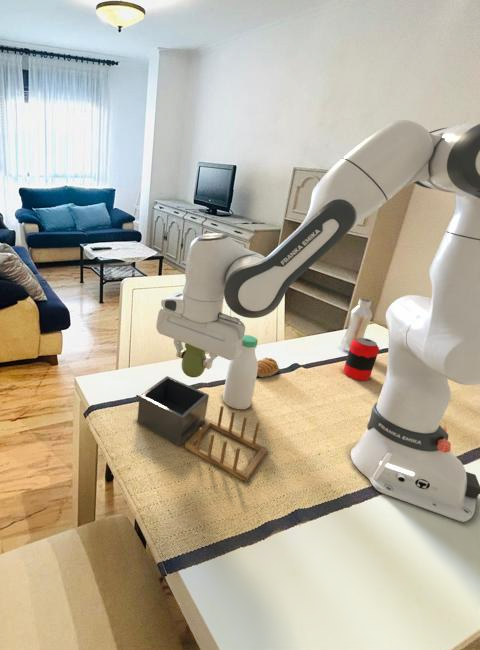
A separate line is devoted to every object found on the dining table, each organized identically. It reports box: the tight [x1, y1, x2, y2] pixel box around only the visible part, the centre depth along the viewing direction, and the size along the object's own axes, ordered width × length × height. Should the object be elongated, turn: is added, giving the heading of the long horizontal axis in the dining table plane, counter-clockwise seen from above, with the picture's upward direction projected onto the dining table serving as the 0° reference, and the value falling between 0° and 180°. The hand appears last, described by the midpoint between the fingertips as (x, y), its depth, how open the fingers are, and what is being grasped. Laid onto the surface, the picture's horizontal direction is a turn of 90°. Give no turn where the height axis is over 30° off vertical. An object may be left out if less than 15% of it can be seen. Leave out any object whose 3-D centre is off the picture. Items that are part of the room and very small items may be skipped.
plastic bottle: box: [340, 297, 373, 352], centre depth 138 cm, size 6×7×20 cm
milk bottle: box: [222, 334, 258, 410], centre depth 105 cm, size 8×8×20 cm
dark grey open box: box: [136, 375, 210, 447], centre depth 97 cm, size 13×13×8 cm
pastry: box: [257, 357, 280, 378], centre depth 123 cm, size 9×7×4 cm
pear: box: [181, 343, 207, 378], centre depth 89 cm, size 6×5×10 cm
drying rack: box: [184, 405, 268, 482], centre depth 89 cm, size 15×12×7 cm
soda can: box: [342, 337, 380, 381], centre depth 123 cm, size 8×8×12 cm
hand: (193, 361), depth 90 cm, fingers closed on pear, 5 cm apart
